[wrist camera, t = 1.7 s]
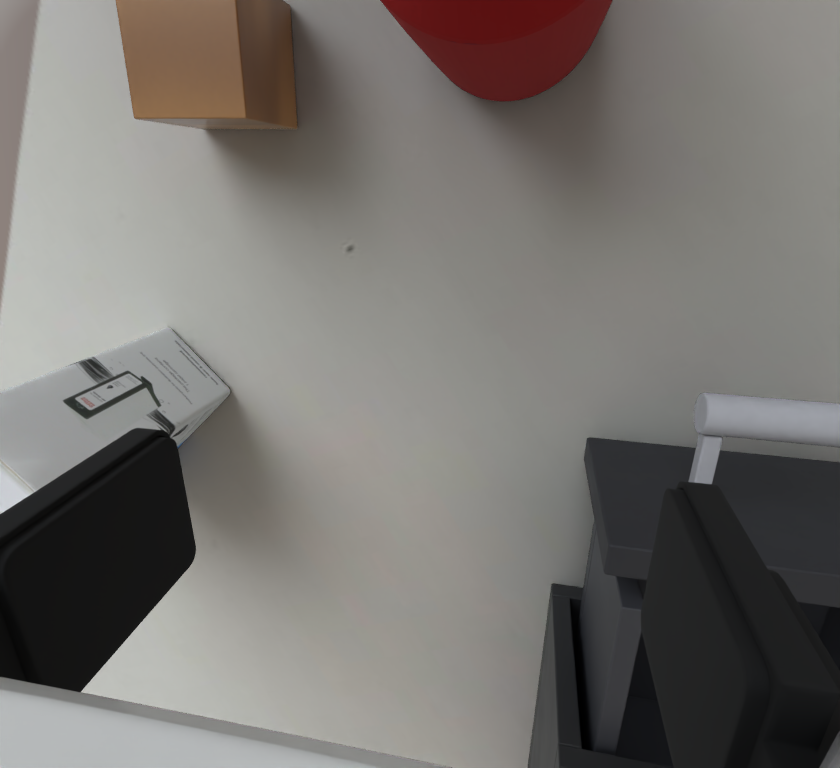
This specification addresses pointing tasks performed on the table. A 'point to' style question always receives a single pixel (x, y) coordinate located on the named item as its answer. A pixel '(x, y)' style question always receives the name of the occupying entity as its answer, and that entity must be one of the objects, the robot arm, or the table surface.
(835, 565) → the pull-out drawer
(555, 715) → the drawer cabinet
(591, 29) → the beverage can
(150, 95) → the block
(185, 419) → the ink box
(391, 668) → the table surface
